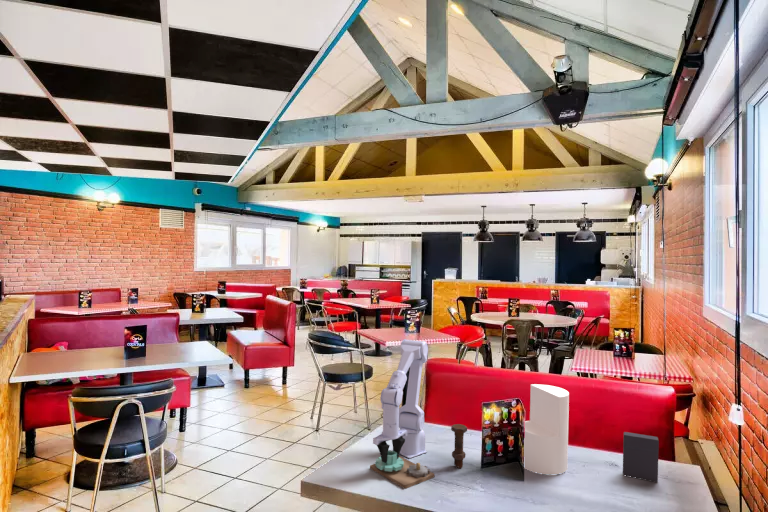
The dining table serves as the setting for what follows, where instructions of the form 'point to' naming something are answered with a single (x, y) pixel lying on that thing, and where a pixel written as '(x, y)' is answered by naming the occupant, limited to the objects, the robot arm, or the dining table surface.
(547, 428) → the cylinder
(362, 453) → the dining table surface
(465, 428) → the bolt
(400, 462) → the teal gear
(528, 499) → the dining table surface
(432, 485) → the dining table surface
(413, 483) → the gear board
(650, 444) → the calculator
